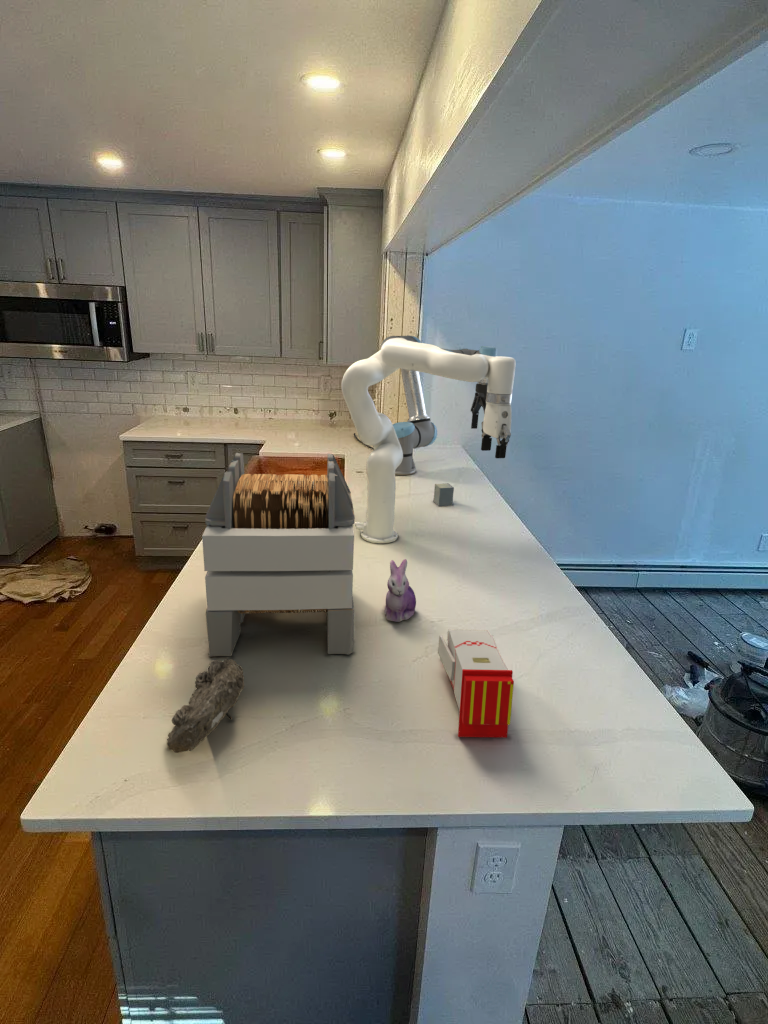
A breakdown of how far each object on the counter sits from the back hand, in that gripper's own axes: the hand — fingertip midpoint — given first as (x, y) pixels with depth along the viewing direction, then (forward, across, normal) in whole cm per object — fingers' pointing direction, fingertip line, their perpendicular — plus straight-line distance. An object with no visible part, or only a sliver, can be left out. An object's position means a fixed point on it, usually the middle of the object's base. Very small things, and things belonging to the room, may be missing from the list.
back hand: (479, 431), depth 254 cm
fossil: (+24, -141, +110) cm, 180 cm away
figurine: (+24, -109, +65) cm, 129 cm away
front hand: (-9, -74, +27) cm, 79 cm away
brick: (+24, -25, +24) cm, 43 cm away
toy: (+24, -142, +58) cm, 156 cm away
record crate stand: (+24, -107, +94) cm, 144 cm away
